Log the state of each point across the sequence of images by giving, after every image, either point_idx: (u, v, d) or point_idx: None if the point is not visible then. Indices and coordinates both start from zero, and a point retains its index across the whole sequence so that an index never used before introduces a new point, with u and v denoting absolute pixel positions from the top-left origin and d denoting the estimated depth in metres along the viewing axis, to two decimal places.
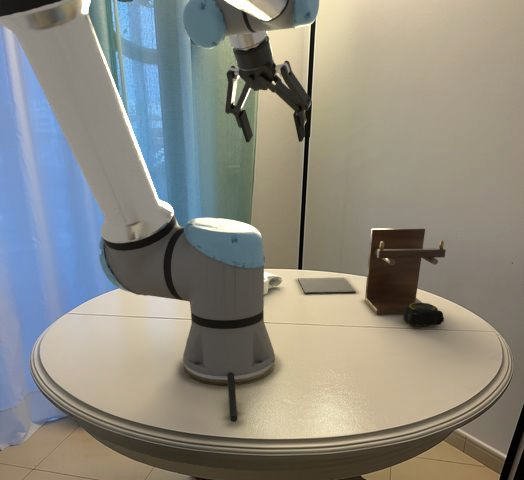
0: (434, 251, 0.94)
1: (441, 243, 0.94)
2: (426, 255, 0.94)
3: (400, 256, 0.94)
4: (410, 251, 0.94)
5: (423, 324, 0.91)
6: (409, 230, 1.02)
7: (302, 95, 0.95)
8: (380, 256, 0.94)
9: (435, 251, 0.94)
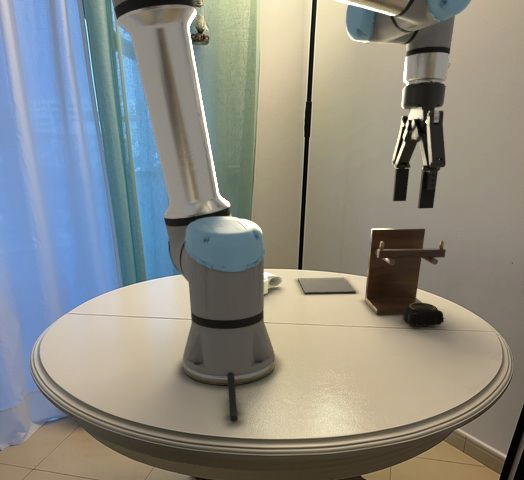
0: (434, 251, 0.94)
1: (441, 243, 0.94)
2: (426, 255, 0.94)
3: (400, 256, 0.94)
4: (410, 251, 0.94)
5: (423, 324, 0.91)
6: (409, 230, 1.02)
7: (435, 149, 0.80)
8: (380, 256, 0.94)
9: (435, 251, 0.94)
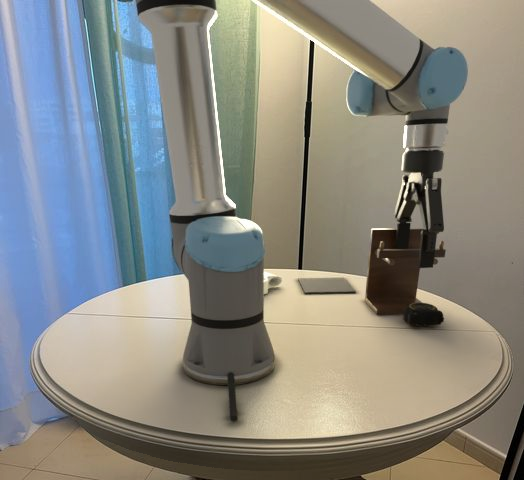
0: None
1: (441, 243, 0.94)
2: None
3: (400, 256, 0.94)
4: (410, 251, 0.94)
5: (423, 324, 0.91)
6: None
7: (433, 215, 0.83)
8: (380, 256, 0.94)
9: (435, 251, 0.94)
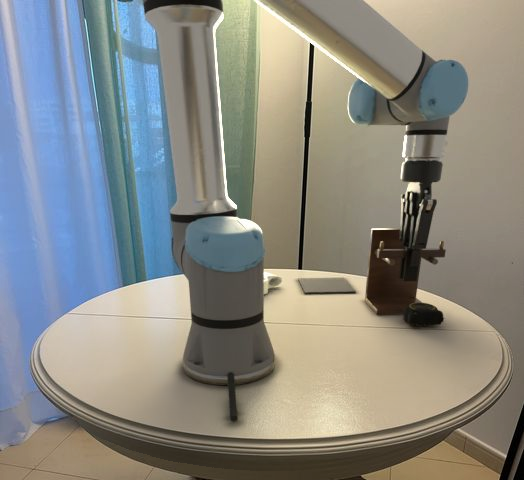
0: (434, 251, 0.94)
1: (441, 243, 0.94)
2: (426, 255, 0.94)
3: (400, 256, 0.94)
4: None
5: (423, 324, 0.91)
6: None
7: (419, 235, 0.89)
8: (380, 256, 0.94)
9: (435, 251, 0.94)
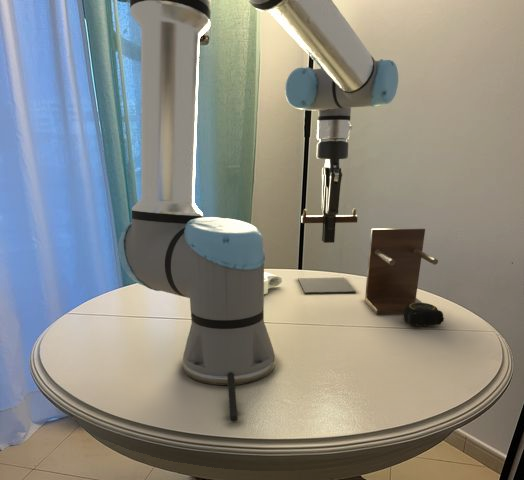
0: (348, 217, 1.14)
1: (353, 210, 1.14)
2: (341, 220, 1.14)
3: (320, 221, 1.14)
4: None
5: (423, 324, 0.91)
6: (409, 230, 1.02)
7: (331, 203, 1.08)
8: (303, 221, 1.14)
9: (349, 217, 1.14)
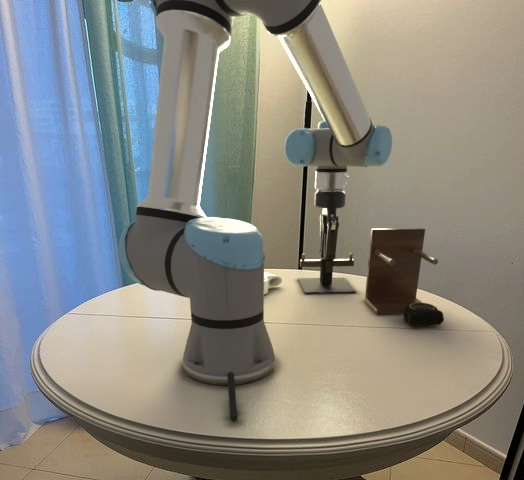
0: (345, 261, 1.18)
1: (350, 255, 1.18)
2: (339, 264, 1.19)
3: (318, 265, 1.18)
4: None
5: (423, 324, 0.91)
6: (409, 230, 1.02)
7: (329, 249, 1.13)
8: (302, 265, 1.18)
9: (345, 261, 1.18)
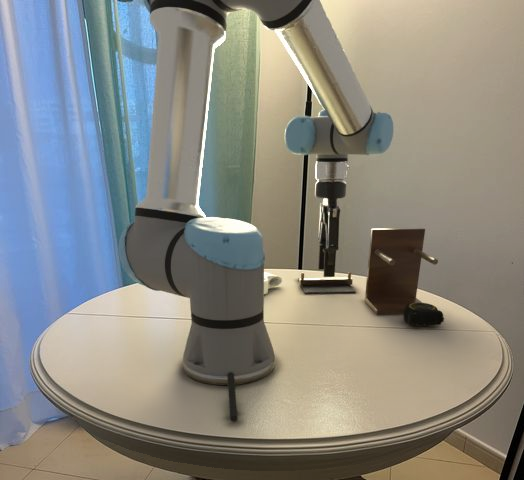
0: (343, 280, 1.20)
1: (349, 274, 1.20)
2: (337, 283, 1.21)
3: (317, 284, 1.20)
4: (324, 280, 1.20)
5: (423, 324, 0.91)
6: (409, 230, 1.02)
7: (331, 238, 1.09)
8: (301, 284, 1.20)
9: (344, 280, 1.20)
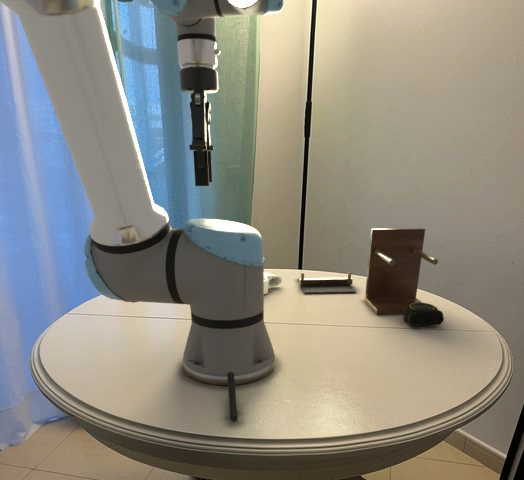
0: (343, 280, 1.20)
1: (349, 274, 1.20)
2: (337, 283, 1.21)
3: (317, 284, 1.20)
4: (324, 280, 1.20)
5: (423, 324, 0.91)
6: (409, 230, 1.02)
7: (195, 129, 0.85)
8: (301, 284, 1.20)
9: (344, 280, 1.20)
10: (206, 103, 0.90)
